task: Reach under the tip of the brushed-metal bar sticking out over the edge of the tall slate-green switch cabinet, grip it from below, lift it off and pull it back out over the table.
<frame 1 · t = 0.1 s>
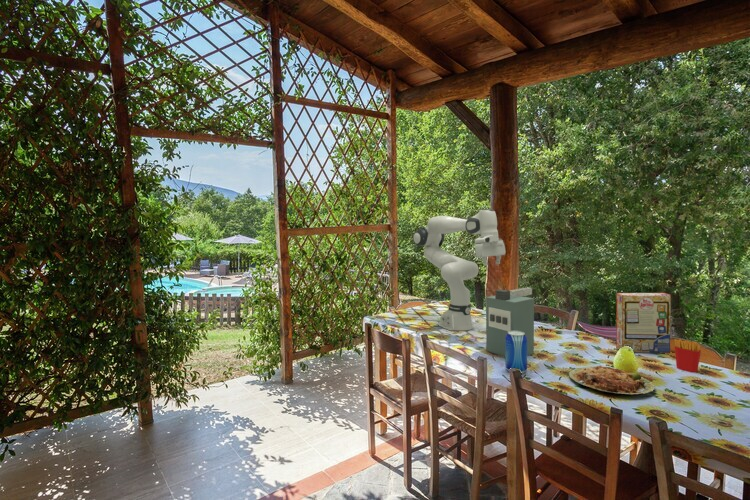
hand: (492, 264, 202), 39 cm above the table, tool pointing down, fingers open, 8 cm apart
french fries: (686, 370, 155), on the table
lever bar: (515, 296, 181), point 26 cm above the table, touching switch cabinet
rice dish: (609, 383, 144), on the table
switch cabinet: (509, 352, 180), on the table
board game box: (642, 351, 177), on the table
beer can: (516, 371, 158), on the table
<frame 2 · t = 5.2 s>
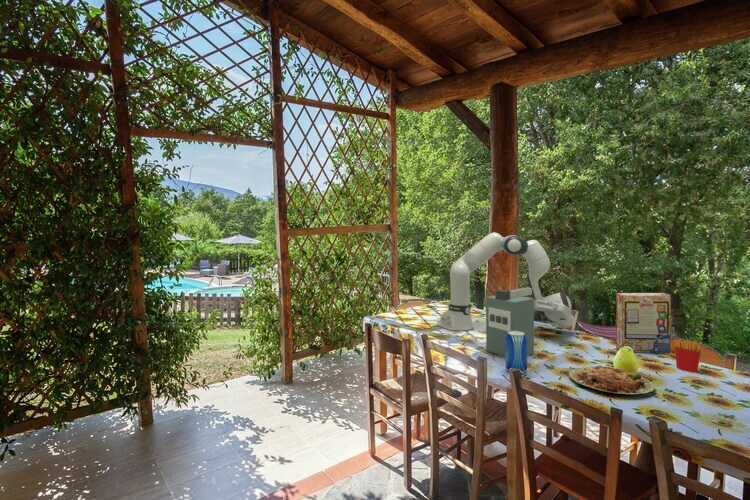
hand: (540, 301, 192), 21 cm above the table, tool pointing upward, fingers open, 8 cm apart
nothing on the table moved.
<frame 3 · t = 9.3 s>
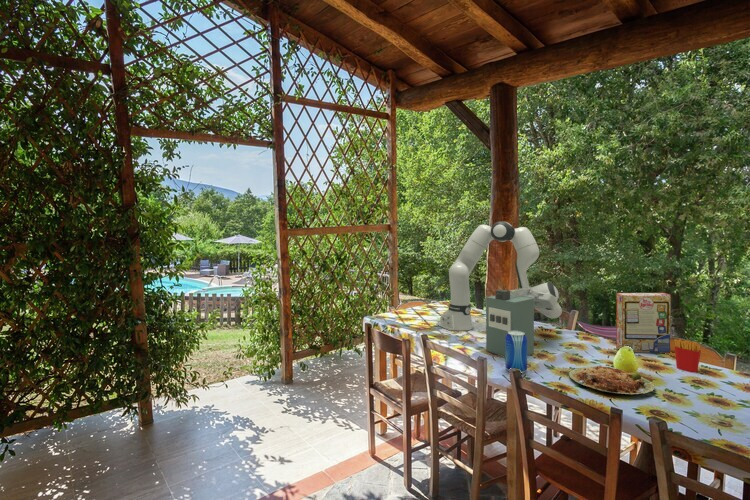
hand: (525, 290, 185), 28 cm above the table, tool pointing upward, fingers closed on lever bar, 3 cm apart
lever bar: (514, 296, 181), point 26 cm above the table, touching gripper, switch cabinet
everything else where it was.
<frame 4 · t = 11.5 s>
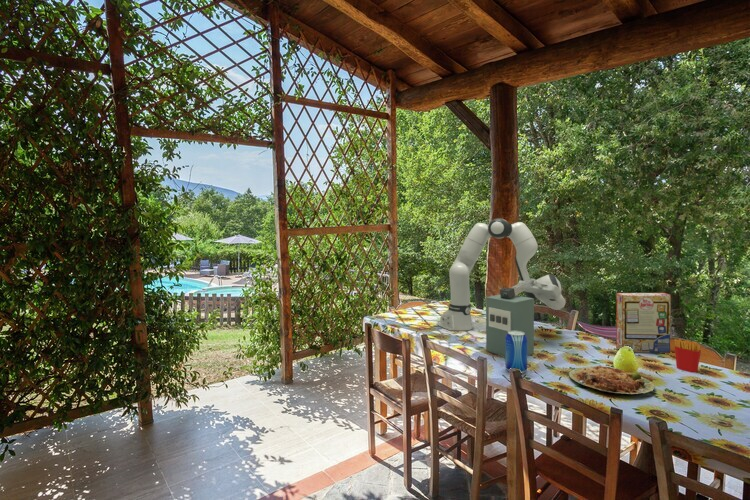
hand: (529, 281, 187), 32 cm above the table, tool pointing upward, fingers closed on lever bar, 3 cm apart
lever bar: (519, 291, 183), point 28 cm above the table, tilted 12°, touching gripper, switch cabinet
everything else where it was.
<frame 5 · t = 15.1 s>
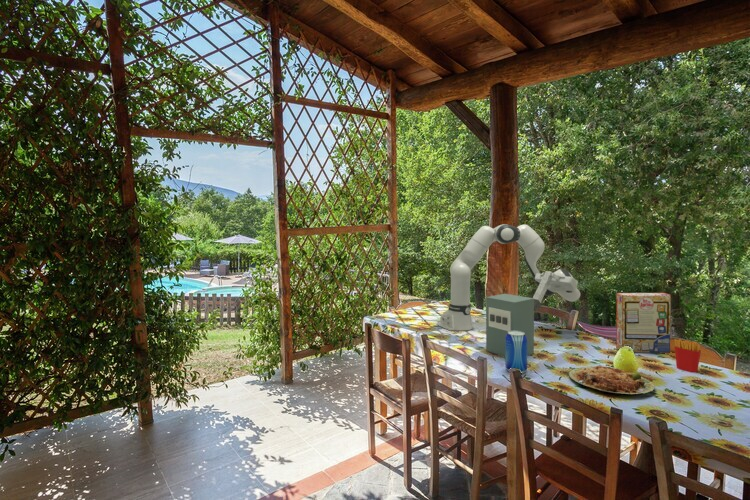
hand: (547, 274, 195), 34 cm above the table, tool pointing upward, fingers closed on lever bar, 3 cm apart
lever bar: (542, 292, 193), point 26 cm above the table, tilted 48°, touching gripper
everything else where it was.
at the end: the gripper is holding lever bar; lever bar touching gripper; lever bar point 25.6 cm above the table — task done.
